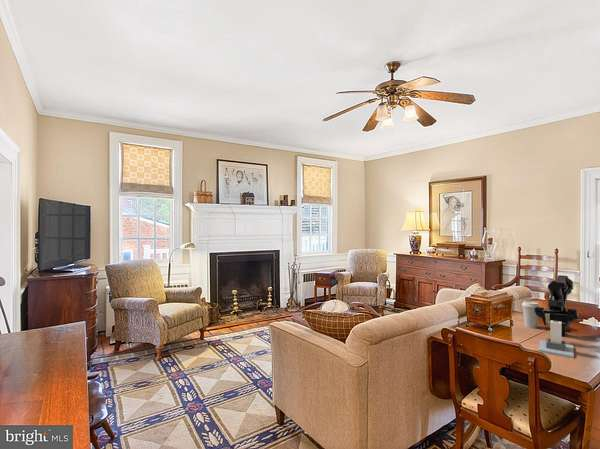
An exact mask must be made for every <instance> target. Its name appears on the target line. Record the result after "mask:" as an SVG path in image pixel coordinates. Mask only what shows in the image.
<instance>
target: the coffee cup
mask: <svg viewBox="0 0 600 449" xmlns="http://www.w3.org/2000/svg"><path fill="white" fill-rule="evenodd" d="M521 307H522V312H523V323H524V327H526V328H530V329H536V328H538V322H539V316H537V315H536V313H535V311H534V309H535V307H541V305H540V304H539V302H538V301H531V300H524V301H523V302H522V303H521Z"/></svg>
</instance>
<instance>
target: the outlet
mask: <svg viewBox="0 0 600 449" xmlns="http://www.w3.org/2000/svg"><path fill="white" fill-rule="evenodd" d="M538 351H541V352H540V353H544V354H549V355H556V356H561V357H567V358H571V359H574V358H575V357H574V354H575V353H574V345H573V344H567V343H566V340H562V344H557V343H551V342H550V337H546V340H543V339H540V340H539V345H538V349H537V352H538Z"/></svg>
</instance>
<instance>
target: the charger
mask: <svg viewBox="0 0 600 449" xmlns="http://www.w3.org/2000/svg"><path fill="white" fill-rule="evenodd" d="M549 327H550V328H549V329H550V331H549V334H550V335H549V338H550V342H551V343H557V344H562V341H563V339H562V337H563V336H562V322H560V321H552V320H551V321H550V324H549Z"/></svg>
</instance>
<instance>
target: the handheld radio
mask: <svg viewBox="0 0 600 449" xmlns="http://www.w3.org/2000/svg"><path fill="white" fill-rule="evenodd" d="M545 317H546V324H547V323H548V324H549V325H550V314H545ZM566 331H567V332H571V329H569V328H568V327H567V328H566Z"/></svg>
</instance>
